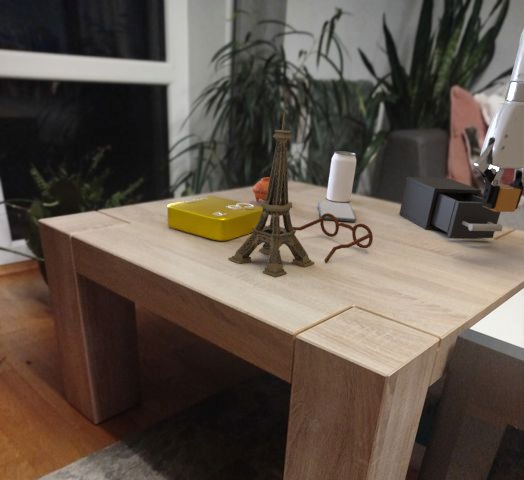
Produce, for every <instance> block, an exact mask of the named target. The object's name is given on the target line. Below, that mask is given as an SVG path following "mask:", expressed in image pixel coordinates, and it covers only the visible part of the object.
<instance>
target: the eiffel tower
mask: <svg viewBox="0 0 524 480" xmlns="http://www.w3.org/2000/svg"><path fill="white" fill-rule="evenodd" d="M286 102H287V100H284V106H286V105H287V103H286ZM283 109H284V110H283V115H282V123H281V129H275V130H274V132H275V133H274V134H273V135H272V137H273V138H274V139H275V140H276V142H275V143H276V144H275V149H274V153H273V160H272V164H271V170H270V176H269V177H270V180H269V185H268V190H267V195H266V200H265V201H264V200H262V201H261V203H260V205H259V206H260V207H262V208H263V211H262V213H261V216H260V219H259V222H258V224H257V225H256V227H255V228H252V229H253V231H254V232H252V233H251V234H250V235H249V237H248V238H247V239H246V240H244V242H243V243H242V244H241V245H240V247H239V248H238V249H237V250H236V251H235V254H234V255H232V256H230V257H228V258H227V259H228V261H230V262H233V263H235V264H238V265H241V264H245V263H248V262H252V256H251V255H252V253H253V252H254V251H255V250H256V248H257V247H258V246H260V245H261V244H262V247H261V248H259V249H258V252H259V253H263V254H266V255H268V259H267V263H266V267H265V268H264V270H262V273H263V274H266V275H267V276H271V277H273V278H278V277H281V276H283V275H286V274H287V271H285V268H284V264H283V261H282V257H281V250H280V248H281V247H282V246H283V245H285V246H286V247H287V248H288V249H289V251H290V253H291V254H292V256H293V258H292V260H291V261H292V262H291V263H292V264H294V265H297V266H299V267H303V268H306V267H309V266H313V265H315V263H316V262H315V261H313V260H311V259H310V257H309V254H308V253H307V251H306V250H305V248H304V246H303V245H302V244H301V242H300V241H299V239H298V237H297V236H296V232H297V230H294V229H293V227H294V226H293V224H292V218H291V212H290V210H291V209H292V208H293V203H292V202H289V179H288V178H289V175H288V141H289V140H291V139H292V138H293V136H292V135H291V133H292V131H291V130H286V129H285V128H286V126H285V125H286V124H285V123H286V107H283ZM273 197H274V198H273ZM269 216H270V221H269V224H268V225H267V221H268V219H269ZM281 216H282V221H283V226H280V220H281V219H280V217H281Z"/></svg>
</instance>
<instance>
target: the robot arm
mask: <svg viewBox="0 0 524 480" xmlns="http://www.w3.org/2000/svg"><path fill="white" fill-rule="evenodd" d="M506 90H507V91H506V95H505V99H504V102H499V104H498V106H497V108H496V110H495V112H494V114H493V116H492V118H491V121H490V123H489V125H488V128H487V132H486V135H485V137H484V141H483V143H482V146H481V147H482V148H481V150H480V155H479V156H478V158H477V159H476V160H475V162H474V163H473V167H474V168H475V169H476V170H477V171H478V173H480V175H481V177H482V179H483V183H485V186H484V189H483V193H482V197H481V198H482V203H481V204H482V206H484V207H487V208H489V209H494V207H495V204H496V201H497V197H498V193H499V190H500V186H497V185H500V184H499V183H500V181H501V179H502V177H503V175H504V173H505V171H506V169H514V170H513V171H514V172H513V179H512V182H511V183H509V185H510V186H513V187H515V188H518V189H521V192H520V195H519V198H518V202H517V205H516V208H515V210H517V209H518V208H519V205H520V202H521V198H522V195H523V191H524V28H523V29H522V32H521V34H520V37H519V42H518V49H517V53H516V57H515V60H514V65H513V67H512V71H511V76H510V79H509V84H508V87H507V89H506ZM488 165H489V166H488Z"/></svg>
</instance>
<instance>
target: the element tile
mask: <svg viewBox="0 0 524 480" xmlns="http://www.w3.org/2000/svg"><path fill="white" fill-rule="evenodd" d="M166 207H167V210H166V211H167V227H168V228H170V229H174V230H176V231H180V232H183V233H188V234H190V235H193V236H194V235H195V236H198V237H202V238H205V239H207V240H208V239H209V240H212V241H216V242H227V241H230V240H233V239H236V238H240V237H243V236H246V235H249V234H253V232H254V231H253V229H252V228H255V227H256V225H257V224H258V222H259V219H260V216H261V213H262V211H263V208H262V207H261V206H260V205H255V204H251V203H246V202H242V201H237V200H234V199H230V198H225V197H220V196H217V195H207V196H206V195H205V196H202V197H197V198H192V199H188V200H182V201H177V202H173V203H169V204H167V206H166Z"/></svg>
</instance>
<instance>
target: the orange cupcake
mask: <svg viewBox="0 0 524 480" xmlns="http://www.w3.org/2000/svg"><path fill="white" fill-rule="evenodd" d="M269 180H270V176H266V177H262V178H261V179H260V180H259V181H257V182H256V183H255V184H254V186H253V187H252V193H253V194H254V198H255V201H256V202H257V203H259V202H260V200H262V201H264V202H265V200H266V195H267V190H268V185H269ZM273 198H274V197H273Z"/></svg>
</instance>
